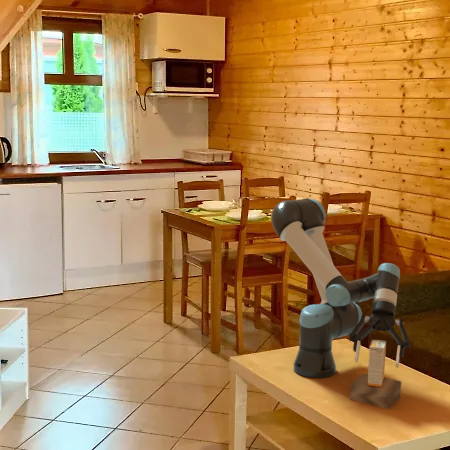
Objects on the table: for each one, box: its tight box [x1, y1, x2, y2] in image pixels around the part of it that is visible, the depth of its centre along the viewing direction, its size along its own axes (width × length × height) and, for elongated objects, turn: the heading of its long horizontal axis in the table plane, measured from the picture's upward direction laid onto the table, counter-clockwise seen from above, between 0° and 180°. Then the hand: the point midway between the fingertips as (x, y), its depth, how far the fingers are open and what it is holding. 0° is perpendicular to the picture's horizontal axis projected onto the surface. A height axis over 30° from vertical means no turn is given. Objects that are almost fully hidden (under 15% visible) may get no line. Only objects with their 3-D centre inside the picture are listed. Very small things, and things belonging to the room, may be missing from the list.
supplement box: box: [367, 339, 387, 387], centre depth 230 cm, size 8×5×13 cm, turn 163°
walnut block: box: [349, 373, 402, 410], centre depth 232 cm, size 13×11×6 cm
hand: (376, 363), depth 228 cm, fingers open, 12 cm apart
